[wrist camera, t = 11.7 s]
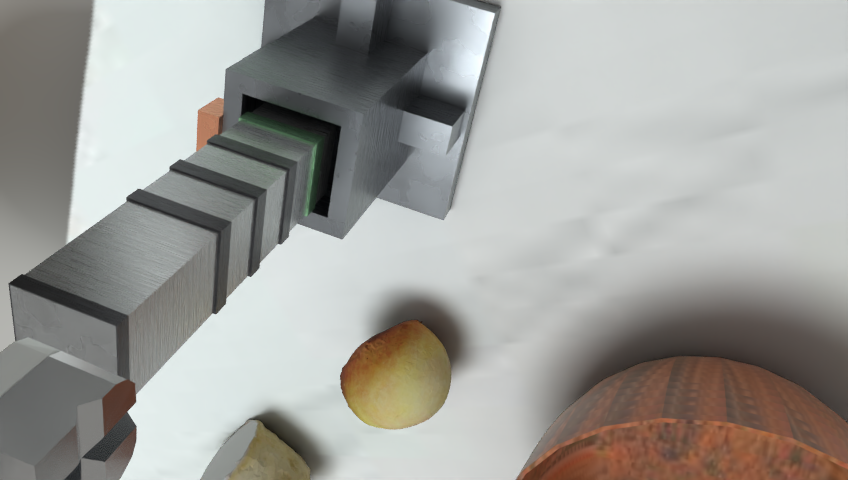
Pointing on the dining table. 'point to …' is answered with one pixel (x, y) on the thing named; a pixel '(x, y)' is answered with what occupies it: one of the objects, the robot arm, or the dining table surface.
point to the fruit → (397, 377)
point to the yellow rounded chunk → (256, 457)
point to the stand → (369, 95)
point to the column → (177, 246)
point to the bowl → (693, 427)
